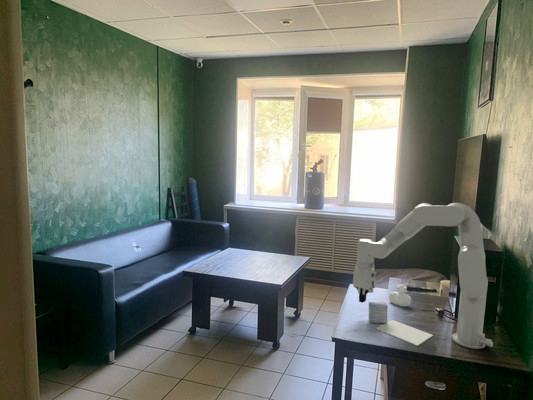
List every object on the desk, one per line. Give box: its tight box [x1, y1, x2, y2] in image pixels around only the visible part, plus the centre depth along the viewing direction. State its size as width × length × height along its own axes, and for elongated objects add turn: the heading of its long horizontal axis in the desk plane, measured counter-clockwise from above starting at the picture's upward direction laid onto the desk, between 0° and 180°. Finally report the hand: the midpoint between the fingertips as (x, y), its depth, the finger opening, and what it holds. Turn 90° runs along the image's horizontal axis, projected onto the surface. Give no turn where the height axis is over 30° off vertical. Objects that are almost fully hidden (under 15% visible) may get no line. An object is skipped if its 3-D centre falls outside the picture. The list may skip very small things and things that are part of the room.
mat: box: [375, 319, 434, 347], centre depth 167 cm, size 20×14×1 cm
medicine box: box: [368, 301, 389, 324], centre depth 177 cm, size 8×4×9 cm, turn 84°
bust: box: [388, 284, 412, 307], centre depth 200 cm, size 12×8×11 cm
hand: (362, 301), depth 183 cm, fingers closed
